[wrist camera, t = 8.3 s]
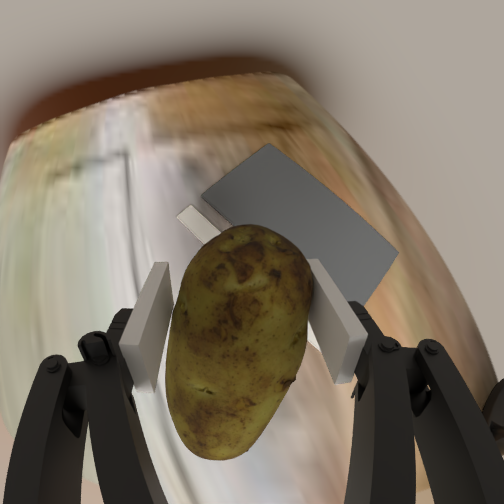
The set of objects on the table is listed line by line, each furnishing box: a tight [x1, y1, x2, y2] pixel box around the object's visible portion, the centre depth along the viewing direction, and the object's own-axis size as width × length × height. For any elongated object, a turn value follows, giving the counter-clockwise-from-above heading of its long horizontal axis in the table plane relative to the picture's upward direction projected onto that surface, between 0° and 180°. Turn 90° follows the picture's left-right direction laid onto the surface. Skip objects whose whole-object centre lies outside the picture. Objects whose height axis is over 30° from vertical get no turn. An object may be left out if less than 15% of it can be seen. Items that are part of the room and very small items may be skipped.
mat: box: [201, 143, 399, 306], centre depth 35 cm, size 24×13×1 cm, turn 47°
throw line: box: [177, 205, 322, 353], centre depth 32 cm, size 24×2×1 cm, turn 47°
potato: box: [165, 224, 313, 460], centre depth 14 cm, size 8×13×8 cm, turn 148°
